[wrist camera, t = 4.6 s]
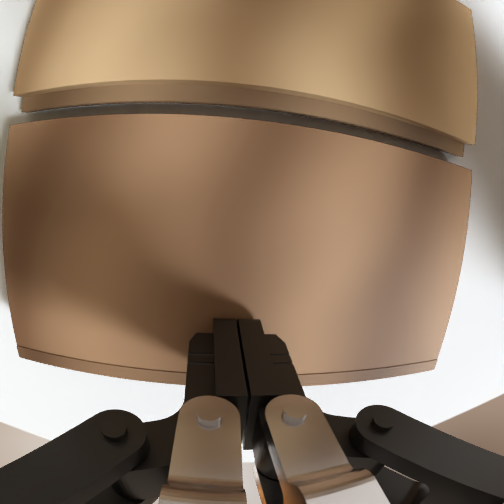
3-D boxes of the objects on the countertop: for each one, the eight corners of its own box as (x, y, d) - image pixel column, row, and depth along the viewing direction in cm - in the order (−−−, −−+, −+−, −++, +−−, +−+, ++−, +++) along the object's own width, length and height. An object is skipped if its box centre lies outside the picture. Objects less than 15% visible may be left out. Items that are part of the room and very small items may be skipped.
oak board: (455, 15, 8) (470, 10, 7) (455, 155, 11) (473, 158, 10) (68, -40, 6) (58, -51, 5) (28, 112, 8) (11, 111, 7)
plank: (453, 171, 11) (472, 170, 10) (419, 358, 13) (433, 370, 11) (26, 129, 9) (9, 124, 7) (32, 344, 10) (19, 357, 9)
